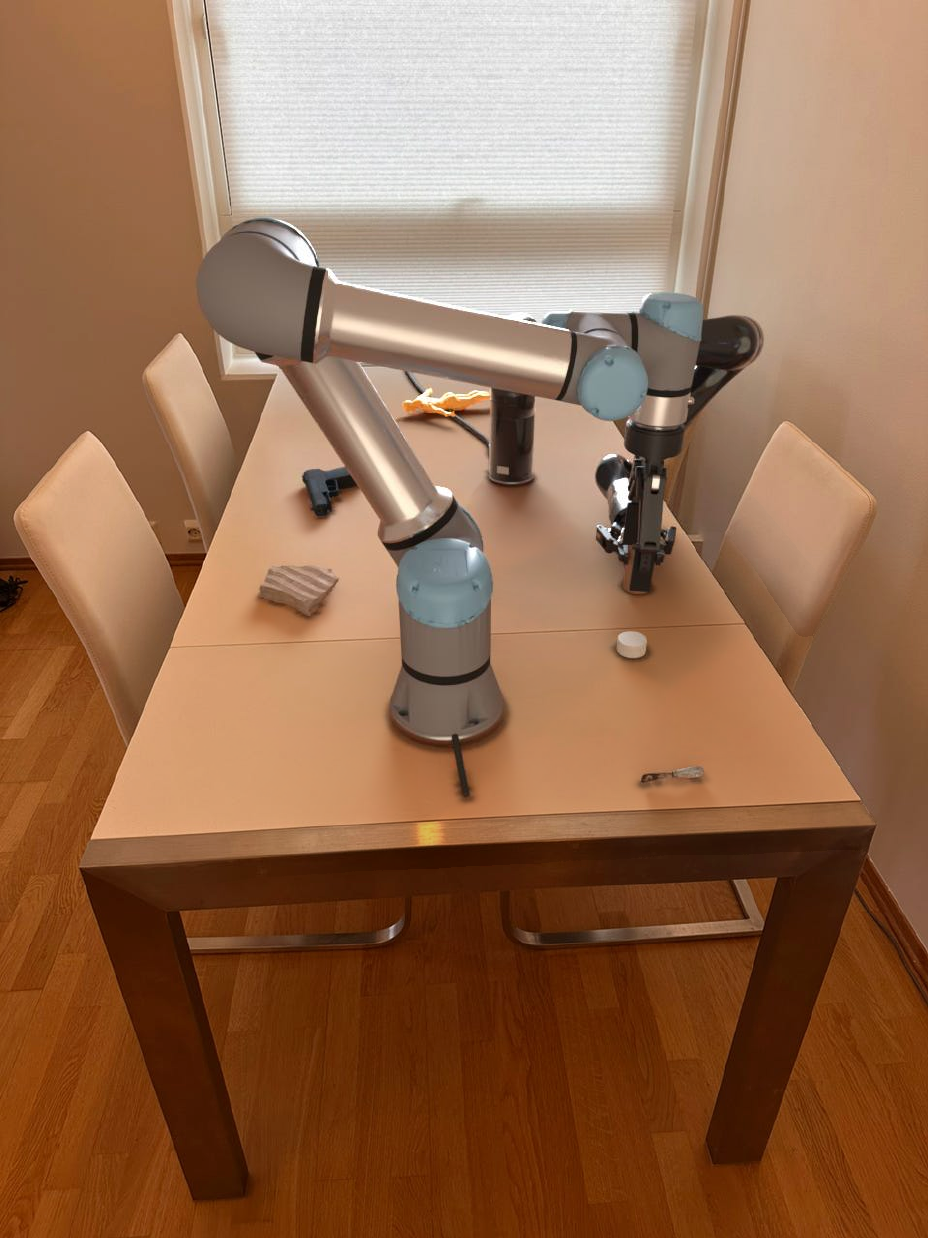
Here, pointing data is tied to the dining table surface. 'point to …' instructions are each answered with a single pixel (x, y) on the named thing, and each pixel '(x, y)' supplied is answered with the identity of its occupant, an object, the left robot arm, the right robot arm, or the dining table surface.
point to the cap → (631, 644)
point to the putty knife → (674, 774)
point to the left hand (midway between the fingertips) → (635, 566)
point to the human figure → (444, 402)
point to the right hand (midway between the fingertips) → (642, 560)
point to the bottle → (629, 572)
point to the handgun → (325, 487)
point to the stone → (298, 586)
